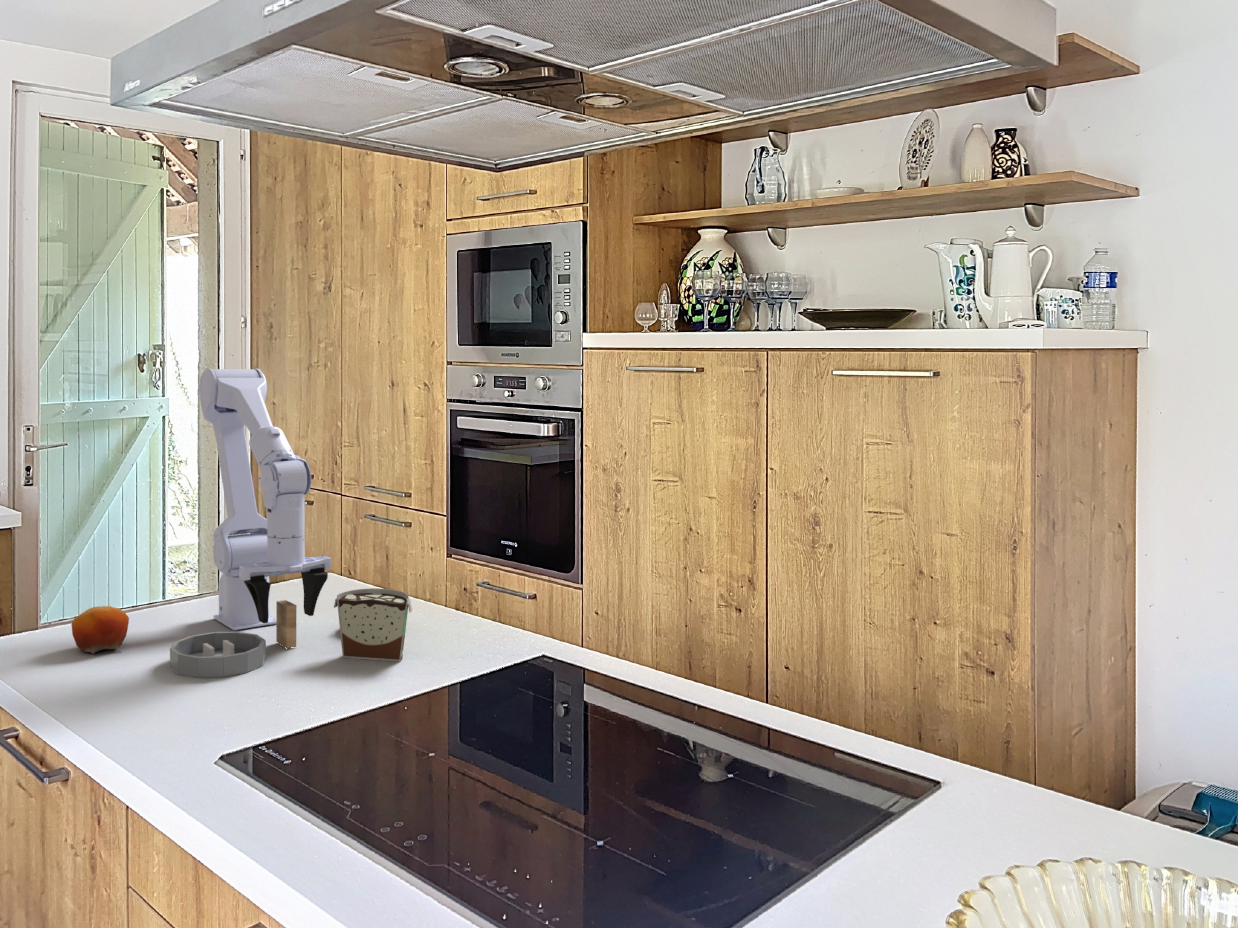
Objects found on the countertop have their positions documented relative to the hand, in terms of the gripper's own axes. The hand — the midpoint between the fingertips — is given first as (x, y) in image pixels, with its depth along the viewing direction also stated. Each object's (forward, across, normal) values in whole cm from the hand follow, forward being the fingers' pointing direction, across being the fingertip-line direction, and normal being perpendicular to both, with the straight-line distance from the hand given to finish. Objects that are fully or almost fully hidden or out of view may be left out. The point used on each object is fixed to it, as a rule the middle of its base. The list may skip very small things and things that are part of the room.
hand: (286, 617), depth 170 cm
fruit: (+5, -24, +14) cm, 28 cm away
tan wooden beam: (+5, 0, 0) cm, 5 cm away
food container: (+5, +10, -12) cm, 16 cm away
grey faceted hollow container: (+5, -12, -3) cm, 13 cm away
